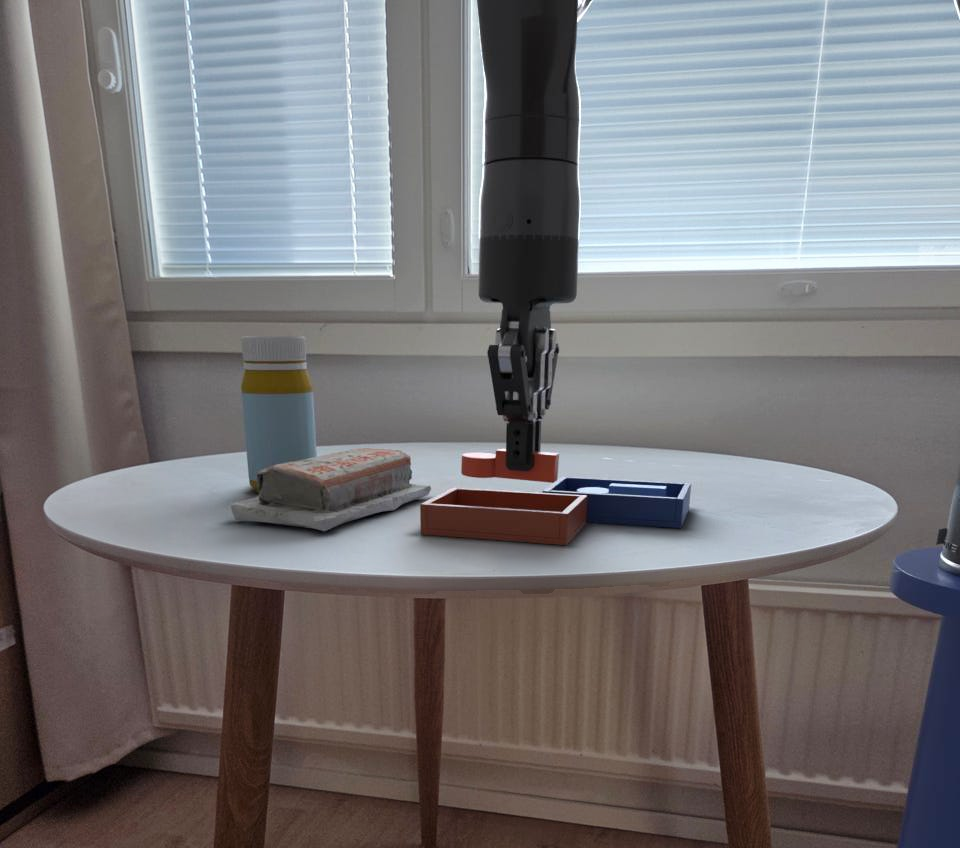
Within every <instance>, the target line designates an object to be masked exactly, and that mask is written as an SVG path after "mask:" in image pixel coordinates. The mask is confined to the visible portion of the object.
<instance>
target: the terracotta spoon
mask: <svg viewBox="0 0 960 848" xmlns="http://www.w3.org/2000/svg"><path fill="white" fill-rule="evenodd" d="M559 460H560V453H559V452H551V451H550V452H549V451H540V452H538V451H535V454H534V467H533V468H532V469H531V470H529V471H517V470H509V469H508V468H507V467H506V448H498V449H496V450H495V453H493V452H492V453H491V452H480V451H479V452H475V451H474V452H466V453H465V452H464V453H463V454H461V469H460V473H461V475H462V476H464V477H469V478H476V479H477V478H478V479H491V478H497V479H509V480H516V481H517V480H518V481H529V482H540V483H549V484H550V483H551V484H553V483H554V482H555V481H557V480H558V479H559V478H558V477H559V463H560V461H559Z"/></svg>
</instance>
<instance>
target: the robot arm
mask: <svg viewBox="0 0 960 848" xmlns="http://www.w3.org/2000/svg"><path fill="white" fill-rule="evenodd" d="M593 1H594V0H476V7H477V8H476V9H477V21H478V22H477V23H478V30H479V44H480V54H481V59H482V60H481V61H482V69H483V80H484V104H483V105H484V107H483V120H482V122H483V123H482V124H483V126H482V134H483V135H482V177H481V185H480V192H479V201H478V202H479V203H478V204H479V205H478V298H479V299H480V300H481V301H482V302H483V303H488V304H502V309H501V317H500V321H499V323H500V324H499V328H497V329H496V331H495V341H494V342H495V343H491V344H489V345H488V349H487V353H486V354H487V359H488V365H489V370H490V378H491V383H492V389H493V395H494V400H495V401H494V402H495V409H496V414H497V416H502V419H503V422H504V423H505V422H506V428H505V429H506V430H505V433H506V434H505V443H506V444H505V449H506V467H507V468H508V469H509V470H517V471H529V470H531V469H532V468H533V467H534V454H535V451H538V452H541V441H542V420H544V419H545V416H546V414H547V413H546V412H547V411H548V410H549V409H550V406H551V404H552V394H553V388H554V381H555V375H556V368H557V364H558V363H557V362H558V357H559V353H560V346H559V342H557V331H556V328H552V319H551V310H550V309H551V306H552V305H555V304H571V303H573V302H574V301H575V300H576V298H577V295H578V294H577V293H578V276H579V275H578V272H579V271H578V270H579V249H580V230H581V229H580V225H581V189H580V176H579V175H580V171H579V169H580V168H579V164H580V142H581V141H580V140H581V139H580V138H581V125H582V124H581V122H582V121H581V120H582V118H581V116H582V115H581V114H582V113H581V112H582V111H581V110H582V109H581V94H580V86H579V82H578V78H577V70H576V60H577V59H576V58H577V57H576V55H577V37H578V36H577V35H578V22H579V21H580V20H581V18H583V16H584V14H585V13H586V12H587V10H588V8H589V7H590V5H591V4H592V2H593ZM953 2H954V3H953V4H954V6H955V9H956V13H957V15H958V19H959V20H960V0H953ZM949 509H950V510H949V515H948V521H947V527H944V528H938V533H937V539H936V543H935V545H942V547H943V551H942V552H941V555H940V560H939V566H940V567H941V568H942V569H944V570H945V571H947V572H949V573H952V574H954V575H957V576H960V462H959V463H958V468H957V474H956V478H955V484H954V490H953V494H952V500H951V505H950V508H949Z"/></svg>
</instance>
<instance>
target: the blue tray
mask: <svg viewBox="0 0 960 848" xmlns="http://www.w3.org/2000/svg"><path fill="white" fill-rule="evenodd" d="M611 483H616V484H634V485H653V486H667V493H666V497H657V496H640V495H622V494H605V493H588V492H577V489H579V488H586V487H599V488H606V489H609V485H610V484H611ZM691 491H692V483H689V482H685V483H684V482H675V481H674V482H673V481H671V482H670V481H656V480H655V481H653V480H636V479H634V480H633V479H617V478H616V479H615V478H600V477H599V478H597V477H596V478H595V477H581V476H580V477H578V476H576V477H575V476H561V477H559V478H557V481H555V482H554V483H551V484H549V485H548V486H547V487H545V488H544V489H543V490H542V491H541V493H555V494H572V495H587V515H586V523H594V524H595V523H597V524H611V525H625V526H639V527H640V526H641V527H653V528H654V527H657V528H670V529H682V527H683V524H684V522H685V520H686V518H687V515H688V513H689V511H690V504H691V503H690V502H691Z"/></svg>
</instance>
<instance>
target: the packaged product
mask: <svg viewBox="0 0 960 848" xmlns="http://www.w3.org/2000/svg"><path fill="white" fill-rule="evenodd" d="M411 465H412V462H411V456H410V455H409V454H407V453H405V452H403V451H402V450H400V449H384V448H369V447H368V448H367V447H366V448H356V449H350V450H345V451H340V452H333V453H329V454H328V453H327V454H324V455H319V456H318V455H317V457H314V458H309V459H304V460H299V461H293V462H288V463H283V464H277V465H274V466H270V467H267V468H265V469H262V470H260V471H259V473H258V474H257V478H256V480H257V485H258V491H259V492H258V496H256V497H252V498H249V499H243V500H240V501H235V502H231V503H230V505H229V506H230V509H231V513H232V517H233V520H234V521H242V522H258V523H266V524H274V525H282V526H289V527H297V528H305V529H311V530H319V531H322V532H327V531H329V530H332V529H334V528H336V527H339V526H340V525H343V524H345V523H349V522H352V521H355V520H359V519H362V518H365V517H368V516H371V515H374V514H379V513H381V512H390V511H395V510H396V509H398V508H399V507H400V506H403V505H405V504H408V503H410V502H413V501H416V500H418V499H422V498H424V497H428V496H429V495H430V493H431V490H432V486H431V485H423V484H414V483H410V481H411V480H412V479H413V475H412V474H413V470H412V468H411Z"/></svg>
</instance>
